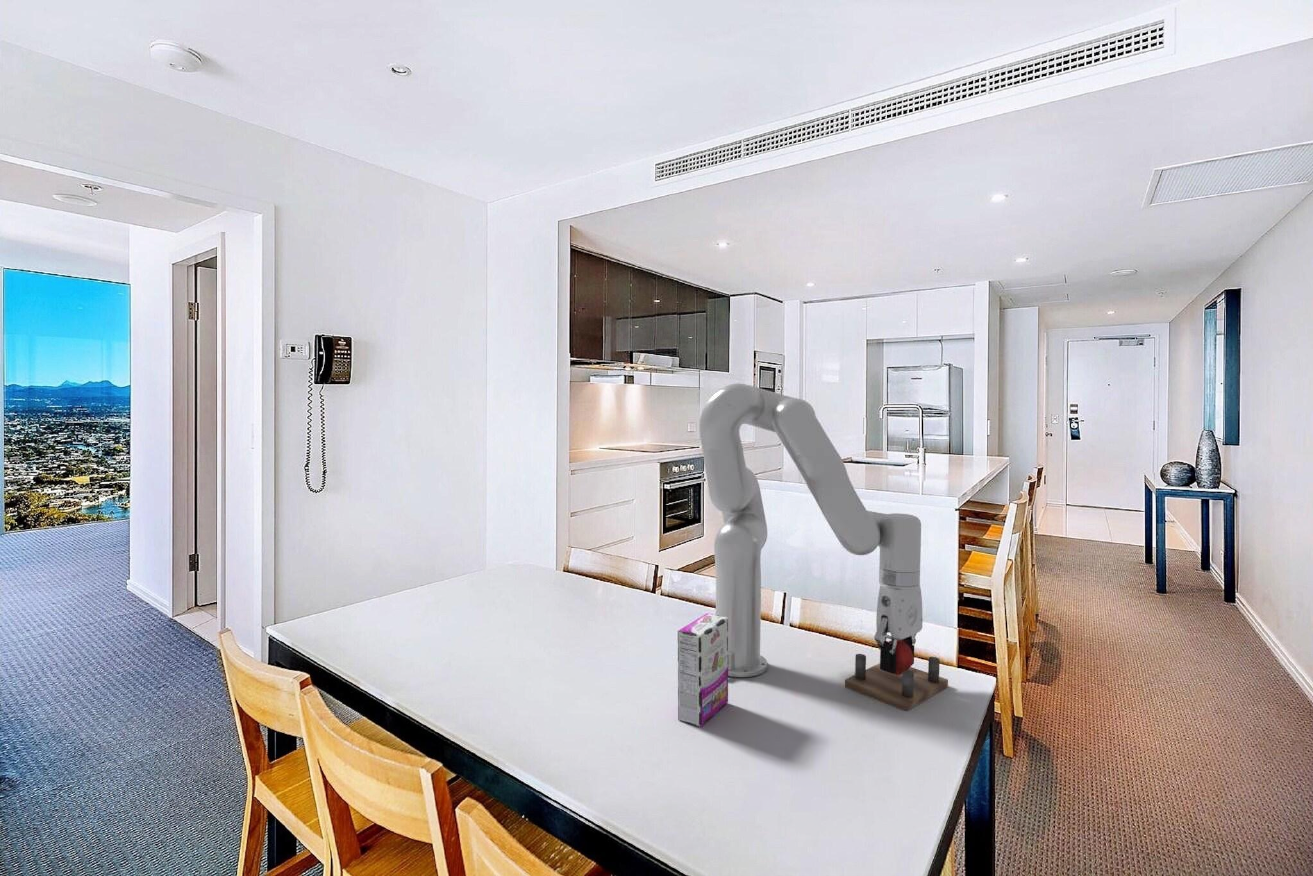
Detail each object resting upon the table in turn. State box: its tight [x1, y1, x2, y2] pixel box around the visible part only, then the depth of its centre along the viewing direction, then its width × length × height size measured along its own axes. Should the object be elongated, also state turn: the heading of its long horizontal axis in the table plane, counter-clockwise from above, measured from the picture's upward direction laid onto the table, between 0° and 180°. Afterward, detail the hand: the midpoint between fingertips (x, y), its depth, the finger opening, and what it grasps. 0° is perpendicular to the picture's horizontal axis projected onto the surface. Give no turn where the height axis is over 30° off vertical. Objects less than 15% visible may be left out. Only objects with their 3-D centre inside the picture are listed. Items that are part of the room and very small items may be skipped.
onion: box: [888, 640, 914, 675], centre depth 127 cm, size 6×6×8 cm
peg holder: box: [844, 653, 949, 712], centre depth 127 cm, size 16×13×6 cm
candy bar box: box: [677, 613, 729, 728], centre depth 116 cm, size 11×5×16 cm, turn 148°
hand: (897, 666), depth 127 cm, fingers closed on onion, 5 cm apart
